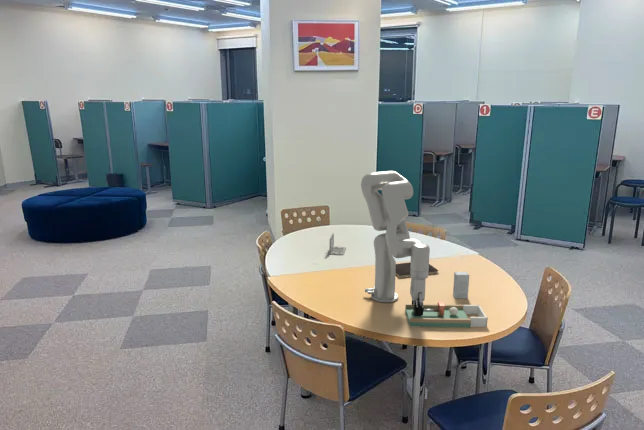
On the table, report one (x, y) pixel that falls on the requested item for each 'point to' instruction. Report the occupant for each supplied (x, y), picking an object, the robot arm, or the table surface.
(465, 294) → the skincare box
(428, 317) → the pitch board
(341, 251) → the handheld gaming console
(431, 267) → the hardcover book
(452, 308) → the ball
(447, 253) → the table surface
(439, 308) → the kicker rod
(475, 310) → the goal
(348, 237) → the table surface
